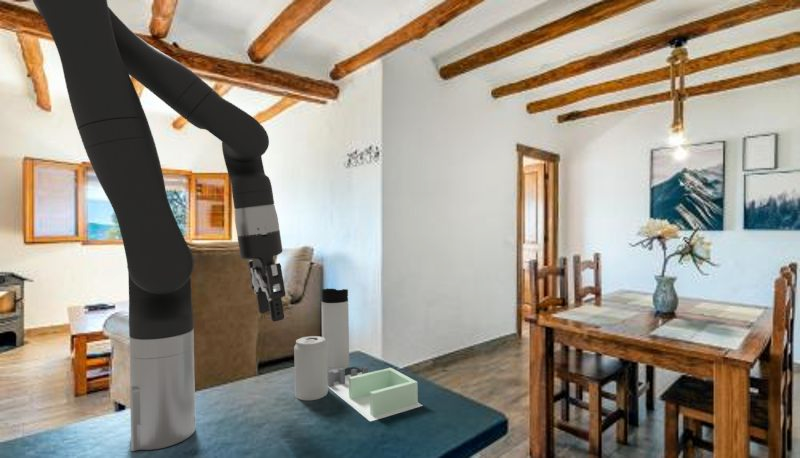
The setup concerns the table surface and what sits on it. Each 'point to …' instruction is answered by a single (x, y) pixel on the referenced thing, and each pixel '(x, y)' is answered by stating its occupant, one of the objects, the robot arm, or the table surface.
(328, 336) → the travel mug
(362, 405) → the board
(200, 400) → the table surface
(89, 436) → the table surface
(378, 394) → the end holder
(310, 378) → the beverage can
